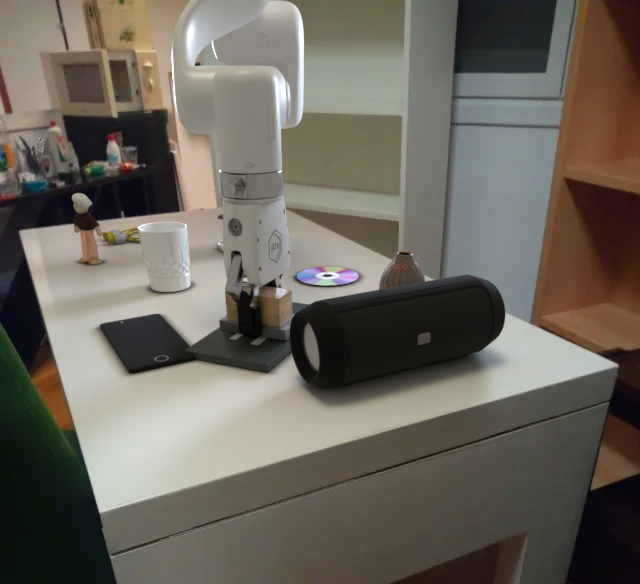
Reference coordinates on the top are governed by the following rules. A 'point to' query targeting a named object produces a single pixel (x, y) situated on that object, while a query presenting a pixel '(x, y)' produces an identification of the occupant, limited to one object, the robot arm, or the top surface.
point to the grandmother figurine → (86, 229)
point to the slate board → (243, 348)
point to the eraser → (264, 312)
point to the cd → (317, 278)
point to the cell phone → (146, 343)
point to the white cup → (166, 255)
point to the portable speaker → (394, 329)
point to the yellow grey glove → (120, 236)
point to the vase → (401, 271)
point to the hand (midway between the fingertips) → (260, 325)
